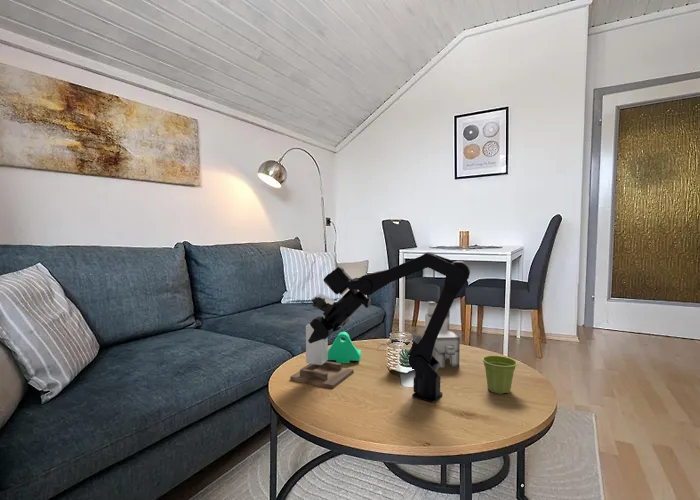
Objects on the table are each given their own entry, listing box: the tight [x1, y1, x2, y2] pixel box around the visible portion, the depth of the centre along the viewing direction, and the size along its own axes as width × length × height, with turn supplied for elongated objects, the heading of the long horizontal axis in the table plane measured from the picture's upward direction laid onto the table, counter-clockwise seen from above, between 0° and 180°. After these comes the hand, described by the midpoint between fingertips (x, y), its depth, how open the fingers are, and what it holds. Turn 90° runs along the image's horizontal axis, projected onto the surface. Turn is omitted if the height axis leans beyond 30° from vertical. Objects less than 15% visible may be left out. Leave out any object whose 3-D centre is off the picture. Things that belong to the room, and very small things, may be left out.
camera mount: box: [327, 331, 362, 364], centre depth 138 cm, size 12×8×10 cm, turn 85°
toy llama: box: [424, 301, 461, 368], centre depth 136 cm, size 8×18×20 cm, turn 5°
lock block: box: [305, 323, 329, 365], centre depth 117 cm, size 5×5×12 cm
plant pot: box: [481, 355, 518, 395], centre depth 111 cm, size 9×9×9 cm
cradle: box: [289, 360, 355, 390], centre depth 122 cm, size 15×14×3 cm
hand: (312, 339), depth 118 cm, fingers closed on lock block, 5 cm apart
